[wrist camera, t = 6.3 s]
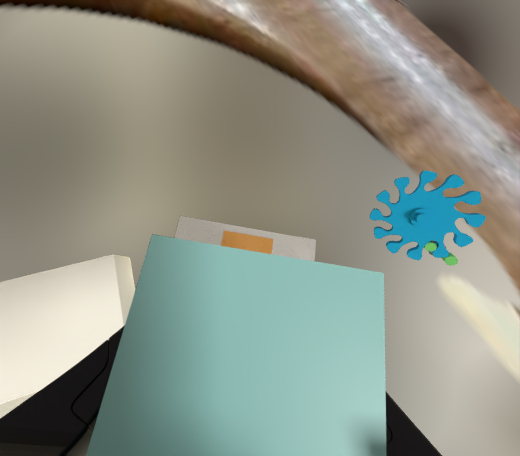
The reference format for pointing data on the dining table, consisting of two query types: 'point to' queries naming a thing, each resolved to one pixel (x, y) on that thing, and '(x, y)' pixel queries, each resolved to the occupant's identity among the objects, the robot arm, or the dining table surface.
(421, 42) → the dining table surface
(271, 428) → the teal square peg
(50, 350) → the white flat square block
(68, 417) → the robot arm
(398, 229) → the blue splat disc
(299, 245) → the hole plate
